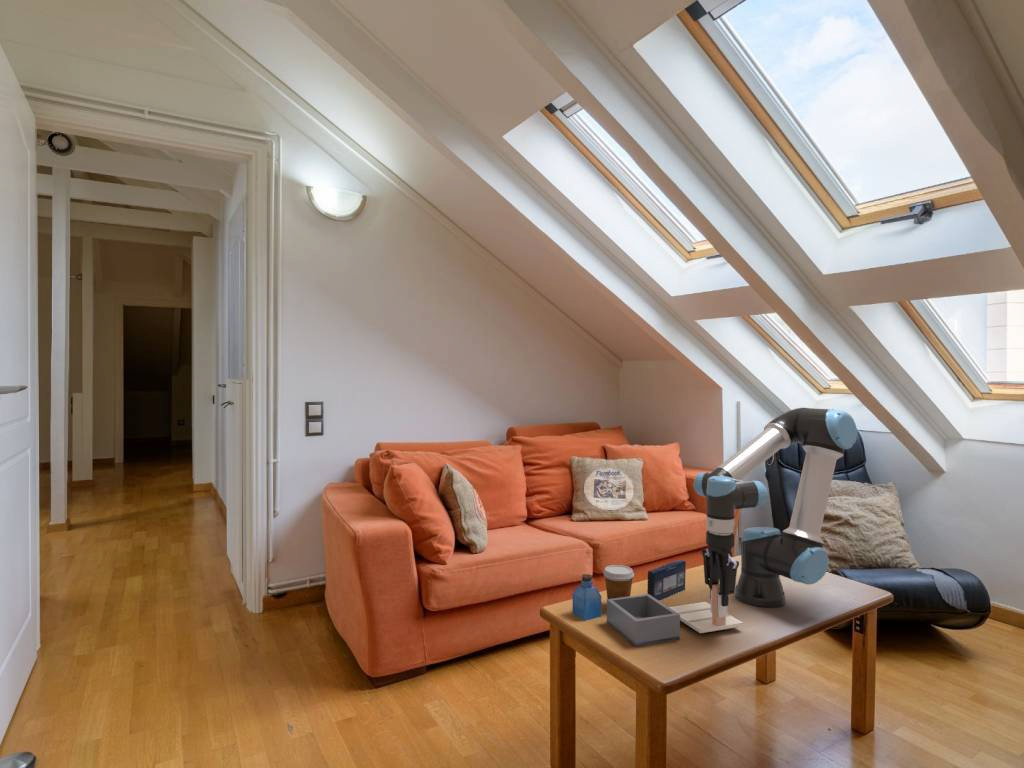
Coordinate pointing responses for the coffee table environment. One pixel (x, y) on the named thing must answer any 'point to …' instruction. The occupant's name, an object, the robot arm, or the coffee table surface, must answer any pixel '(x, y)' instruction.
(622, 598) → the tub
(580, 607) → the perfume bottle
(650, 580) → the vhs cassette tape
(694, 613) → the lid
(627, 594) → the disposable coffee cup
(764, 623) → the coffee table surface
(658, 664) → the coffee table surface
